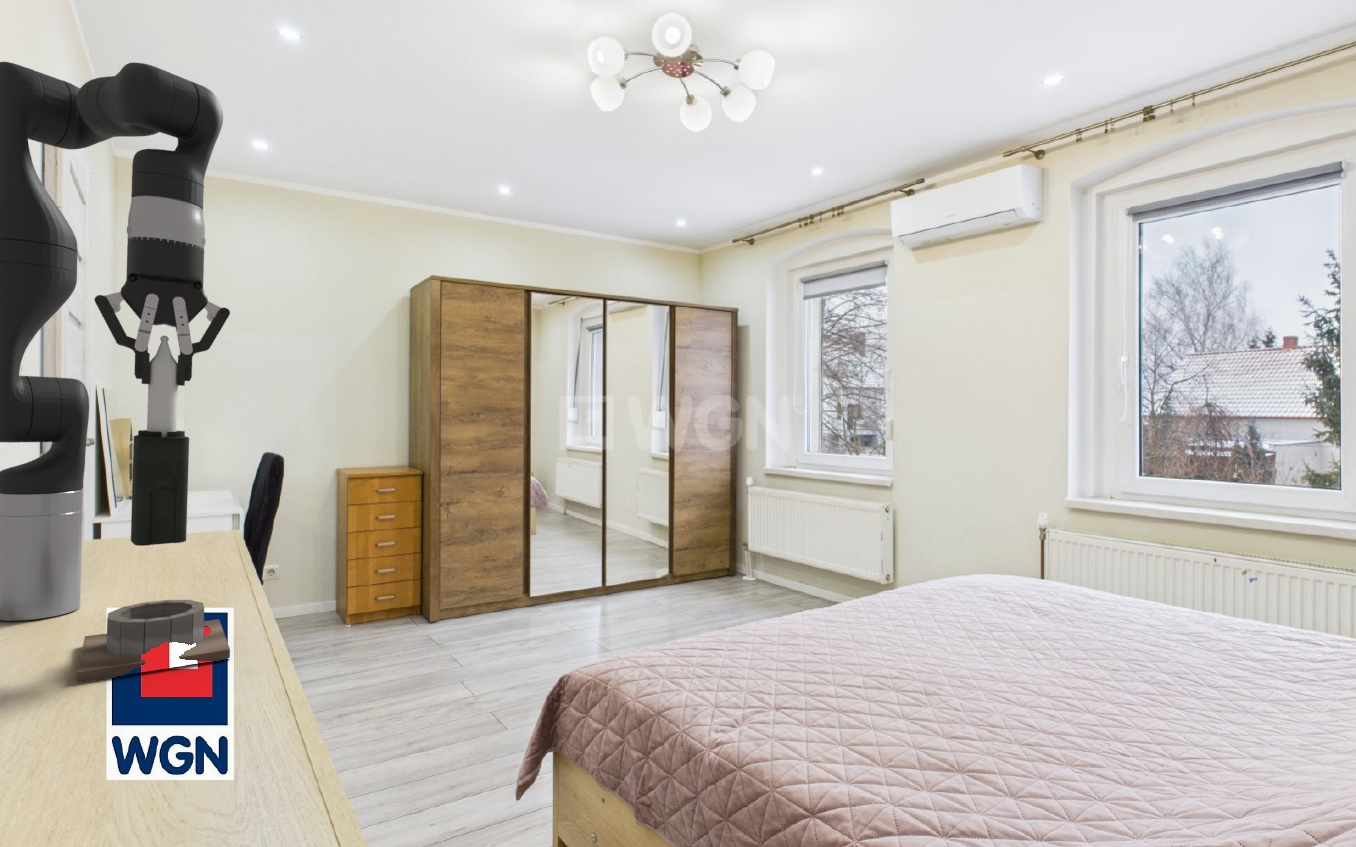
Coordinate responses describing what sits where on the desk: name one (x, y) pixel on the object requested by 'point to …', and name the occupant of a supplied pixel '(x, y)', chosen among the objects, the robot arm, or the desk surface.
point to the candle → (160, 460)
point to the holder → (149, 637)
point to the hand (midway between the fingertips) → (162, 384)
